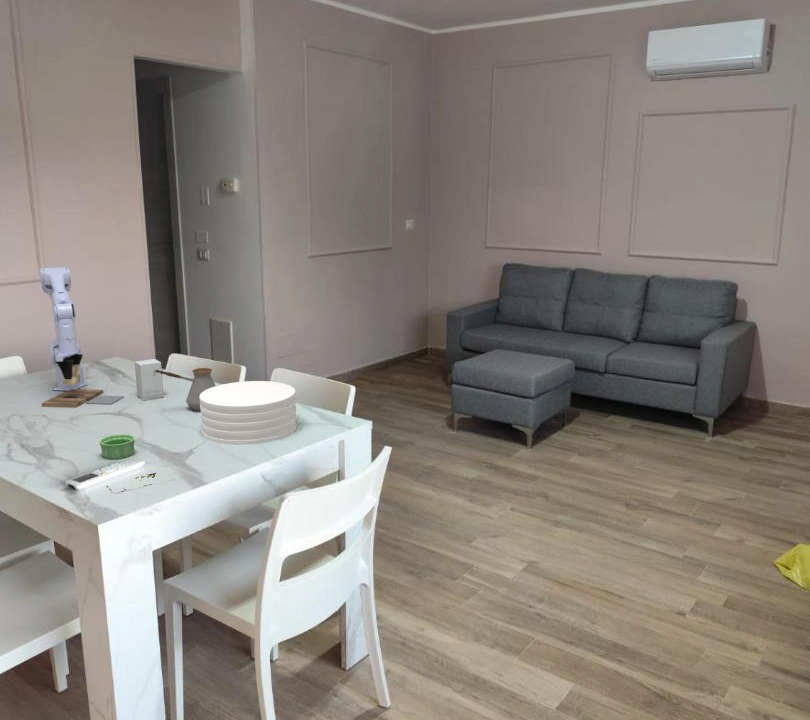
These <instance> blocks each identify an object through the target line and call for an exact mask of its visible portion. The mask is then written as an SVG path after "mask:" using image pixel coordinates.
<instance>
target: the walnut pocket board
mask: <svg viewBox="0 0 810 720" xmlns="http://www.w3.org/2000/svg"><path fill="white" fill-rule="evenodd" d="M103 394H104V389H91V388H90V389H86V388H84V389H83V388H78V389H70V390H68V391H63V392H62V393H59V394H58V395H56V396H53V397H52V398H49V399H47V400H46V401H43V402H41V407H42V406H43V407H46V408H48V407H49V408H78V407H80V406H82V405H84V404H86V402H88V401H90V400H92V399H94V398H96V397H98V396H102V395H103ZM43 407H42V408H43Z"/></svg>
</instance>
